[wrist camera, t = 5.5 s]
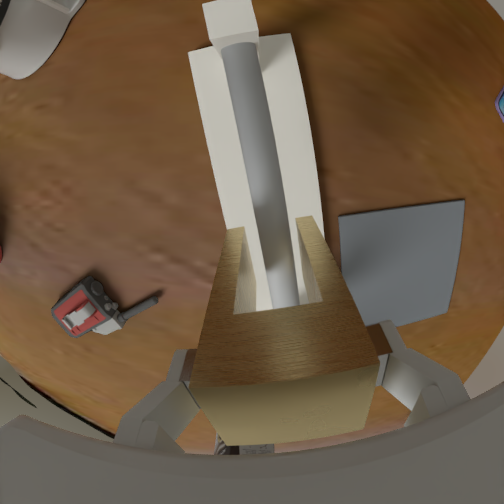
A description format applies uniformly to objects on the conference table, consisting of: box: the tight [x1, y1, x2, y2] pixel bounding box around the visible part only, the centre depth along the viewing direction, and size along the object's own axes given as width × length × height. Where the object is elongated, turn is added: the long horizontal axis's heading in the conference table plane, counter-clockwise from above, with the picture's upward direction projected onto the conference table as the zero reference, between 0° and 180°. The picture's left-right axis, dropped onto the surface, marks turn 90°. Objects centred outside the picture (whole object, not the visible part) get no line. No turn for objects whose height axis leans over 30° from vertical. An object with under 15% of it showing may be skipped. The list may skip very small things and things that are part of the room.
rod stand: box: [188, 0, 324, 311], centre depth 22 cm, size 34×10×15 cm, turn 11°
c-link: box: [188, 215, 380, 446], centre depth 12 cm, size 4×5×11 cm
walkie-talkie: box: [51, 276, 158, 338], centre depth 34 cm, size 9×4×20 cm
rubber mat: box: [338, 200, 465, 327], centre depth 32 cm, size 18×18×1 cm
